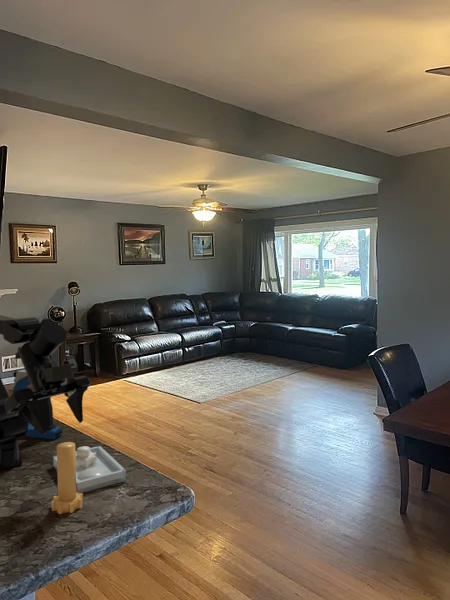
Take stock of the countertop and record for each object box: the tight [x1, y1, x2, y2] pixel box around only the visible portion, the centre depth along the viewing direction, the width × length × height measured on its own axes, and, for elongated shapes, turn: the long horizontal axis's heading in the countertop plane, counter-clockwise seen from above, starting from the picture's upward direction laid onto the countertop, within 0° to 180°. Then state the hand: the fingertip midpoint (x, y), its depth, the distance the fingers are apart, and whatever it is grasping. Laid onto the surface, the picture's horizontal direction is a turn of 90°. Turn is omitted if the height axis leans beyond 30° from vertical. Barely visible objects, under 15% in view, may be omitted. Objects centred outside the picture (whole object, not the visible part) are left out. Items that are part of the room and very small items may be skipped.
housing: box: [52, 445, 127, 494], centre depth 111 cm, size 18×12×5 cm, turn 34°
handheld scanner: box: [12, 369, 68, 440], centre depth 136 cm, size 5×16×20 cm, turn 79°
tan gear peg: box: [51, 441, 84, 515], centre depth 96 cm, size 6×6×13 cm
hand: (63, 427), depth 102 cm, fingers open, 9 cm apart
